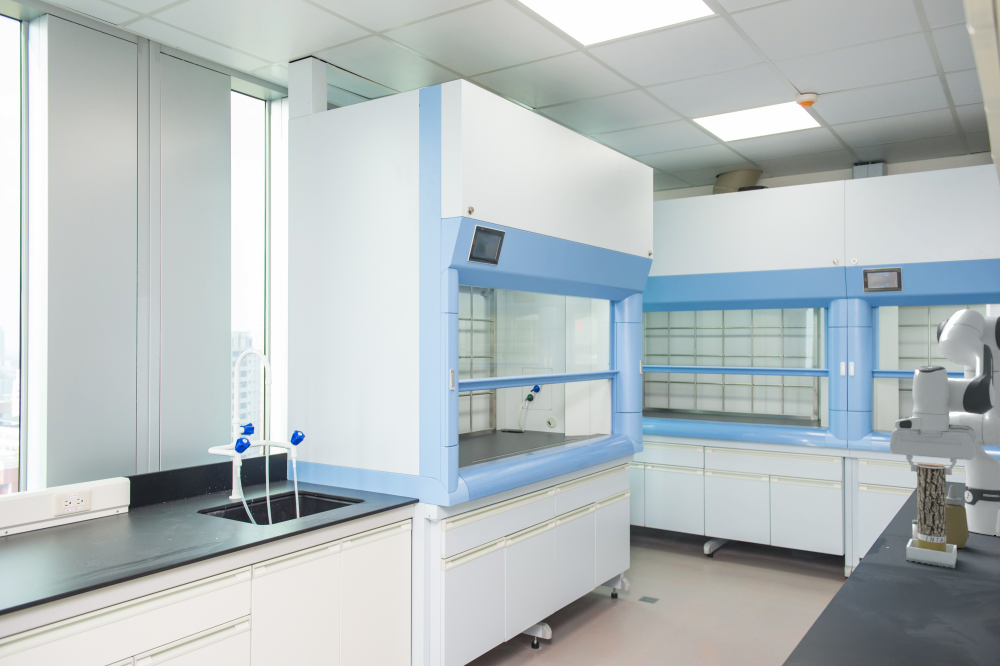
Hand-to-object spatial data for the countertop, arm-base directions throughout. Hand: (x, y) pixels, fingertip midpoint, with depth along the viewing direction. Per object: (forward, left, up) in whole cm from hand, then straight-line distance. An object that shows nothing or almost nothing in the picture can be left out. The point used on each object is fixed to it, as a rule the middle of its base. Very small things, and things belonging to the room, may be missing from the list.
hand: (931, 472), depth 192 cm
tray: (0, 0, -24) cm, 24 cm away
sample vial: (-9, -21, -24) cm, 33 cm away
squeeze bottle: (-16, -15, -24) cm, 33 cm away
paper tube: (0, 0, -23) cm, 23 cm away
